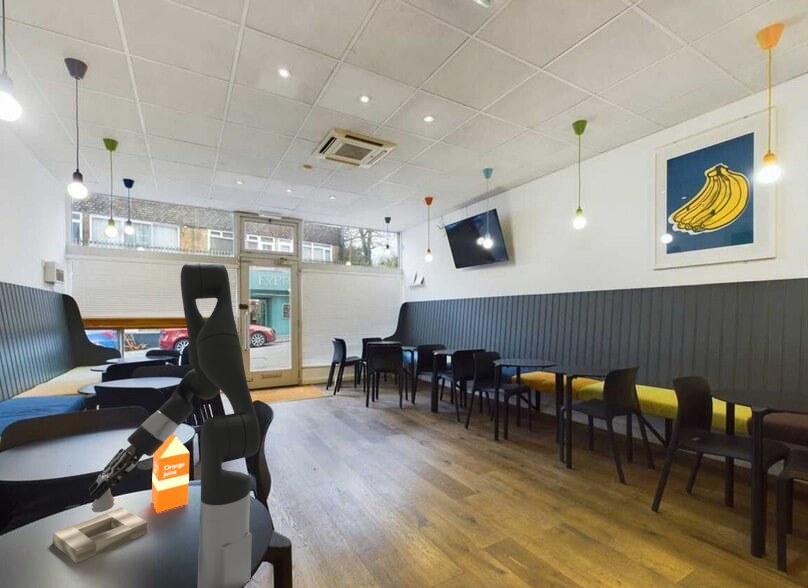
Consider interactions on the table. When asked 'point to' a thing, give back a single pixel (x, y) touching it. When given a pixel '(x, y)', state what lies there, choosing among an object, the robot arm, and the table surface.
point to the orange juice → (170, 475)
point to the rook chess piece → (103, 498)
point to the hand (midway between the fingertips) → (93, 494)
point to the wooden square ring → (83, 547)
